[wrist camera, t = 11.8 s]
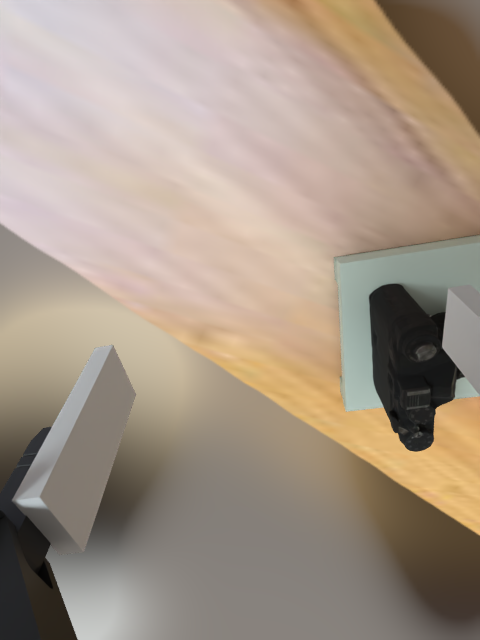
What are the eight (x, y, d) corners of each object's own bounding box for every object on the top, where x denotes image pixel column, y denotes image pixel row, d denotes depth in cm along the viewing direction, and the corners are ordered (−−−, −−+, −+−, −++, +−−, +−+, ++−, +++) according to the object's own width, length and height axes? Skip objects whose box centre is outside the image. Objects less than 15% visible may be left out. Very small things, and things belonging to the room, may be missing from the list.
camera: (461, 382, 42) (517, 453, 34) (365, 394, 43) (395, 467, 35) (477, 268, 35) (552, 321, 27) (362, 286, 37) (398, 343, 28)
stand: (333, 252, 38) (339, 263, 35) (499, 226, 36) (518, 236, 34) (340, 394, 47) (346, 411, 45) (473, 378, 46) (486, 395, 43)
